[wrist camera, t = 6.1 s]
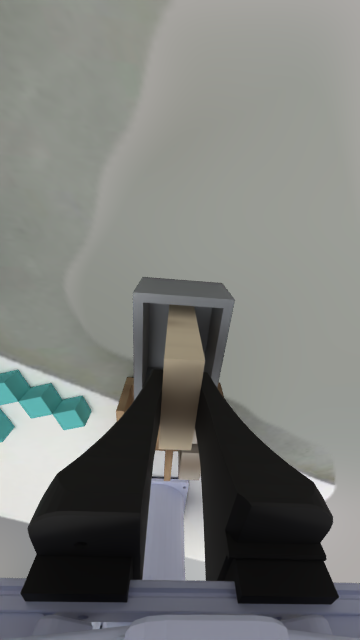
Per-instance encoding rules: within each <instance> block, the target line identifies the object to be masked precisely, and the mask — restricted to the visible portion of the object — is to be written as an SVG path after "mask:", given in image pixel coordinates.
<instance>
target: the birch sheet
mask: <svg viewBox="0 0 360 640" xmlns="http://www.w3.org/2000/svg"><path fill="white" fill-rule="evenodd" d="M204 365H205V358H204V353H203V348H202V343H201V338H200V333H199V328H198V323H197V318H196V313H195V308H194V306H184V305H171V304H169V313H168V323H167V334H166V344H165V354H164V368H163V385H162V401H161V417H160V434H159V449H168V450H191V448H192V441H193V435H194V428H195V422H196V416H197V409H198V403H199V397H200V390H201V384H202V378H203V371H204Z"/></svg>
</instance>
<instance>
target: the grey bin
mask: <svg viewBox="0 0 360 640" xmlns="http://www.w3.org/2000/svg"><path fill="white" fill-rule="evenodd" d="M234 301H235V300H234V298H233V297H232V296H231V294H230V293H229V292H228V290H227V289H226V288H225V286H224V285H223V284H222V283H213V282H200V281H187V280H175V279H161V278H148V277H142V279H141V281H140V282H139V284H138V285H137V287H136V289H135V290H134V292H133V333H134V334H133V341H134V342H133V343H134V400H135V399H136V397H137V396H138V394H139V393H140V391H141V390H142V388H143V386H144V385H145V383H146V381H147V379H148V378H149V375H150V373H151V371H152V370H153V369H162V370H163V368H164V354H165V344H166V334H167V323H168V313H169V304H171V305H184V306H194V308H195V313H196V318H197V323H198V328H199V333H200V338H201V343H202V348H203V353H204V358H205V365H204V371H203V372H208V373H209V375H210V377H211V378H212V380H213V382H214V384H215V385H216V387H218V382H219V377H220V372H221V367H222V362H223V357H224V352H225V347H226V342H227V337H228V332H229V327H230V322H231V317H232V312H233V307H234Z"/></svg>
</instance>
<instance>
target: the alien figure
mask: <svg viewBox="0 0 360 640" xmlns="http://www.w3.org/2000/svg"><path fill="white" fill-rule="evenodd" d="M13 402H19V403H20V404H21V406H22V407H23V408H24V410H25V411H26V412H27V414H28V415H29V416H30V418H36V417H41V416H46V415H51V414H53V415H54V417H55V418H56V420H57V421H58V423H59V424H60V426H61V427H62V429H63V430H67V429H73V428H78V427H83V426H85V425H86V422H87V420H88V418H89V416H90V414H91V409H90V408H89V406H88V404H87V403H86V401H85V399H84V397H83V396H78V397H73V398H69V399H64V400H62V399H61V397H60V396H59V394H58V393H57V391H56V390H55V388H54V386H53V385H52V383H49V384H45V385H40V386H36V387H31V388H30V386H29V385H28V383H27V382H26V380H25V379H24V377H23V376H22V375H21V373H20V372H19V370H15V371H10V372H6V373H1V374H0V405H4V404H8V403H13ZM14 427H15V426H14V425H13V424H12V423H11V421H10V420H9V419H8V418H7V416H6V415H5V414H4V413H3V412H2V410H1V409H0V442H3V441H4V440H5V438H6V437H7V436H8V435H9V433H10V432H11V431H12V430H13V428H14Z"/></svg>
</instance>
